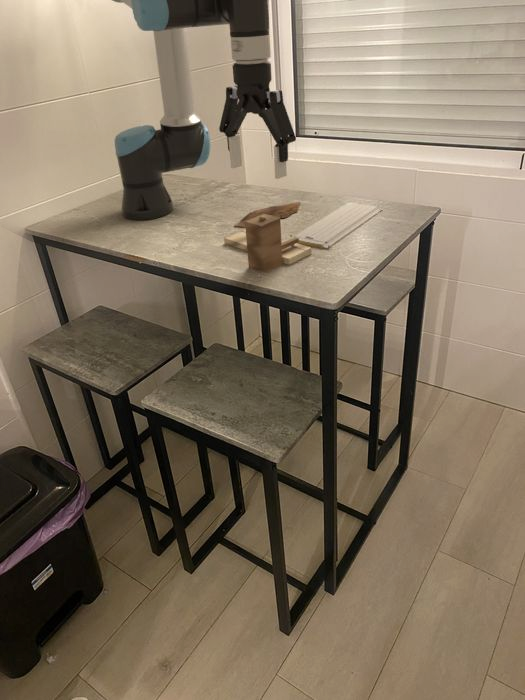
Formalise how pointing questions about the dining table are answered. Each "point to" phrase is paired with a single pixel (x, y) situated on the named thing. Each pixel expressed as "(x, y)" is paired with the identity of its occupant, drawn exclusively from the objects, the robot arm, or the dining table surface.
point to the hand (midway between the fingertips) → (257, 172)
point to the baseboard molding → (336, 225)
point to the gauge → (265, 242)
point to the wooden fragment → (271, 212)
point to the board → (289, 253)
